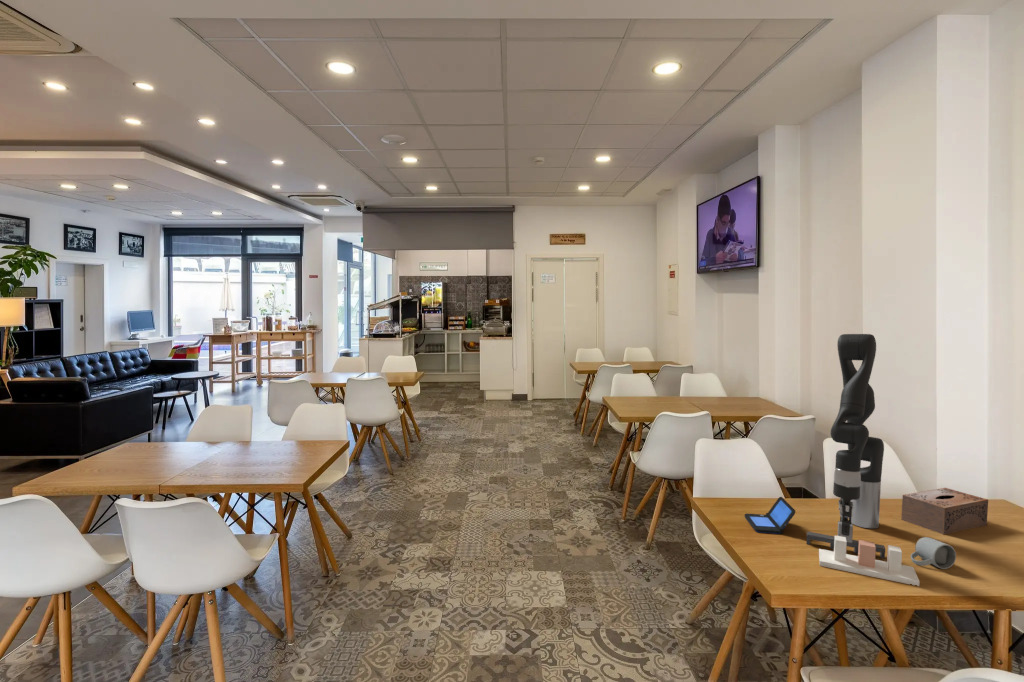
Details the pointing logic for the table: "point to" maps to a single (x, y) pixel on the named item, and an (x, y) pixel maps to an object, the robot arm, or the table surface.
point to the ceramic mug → (934, 553)
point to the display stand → (868, 562)
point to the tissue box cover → (944, 510)
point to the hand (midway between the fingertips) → (844, 530)
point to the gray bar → (848, 538)
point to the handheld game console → (772, 518)
